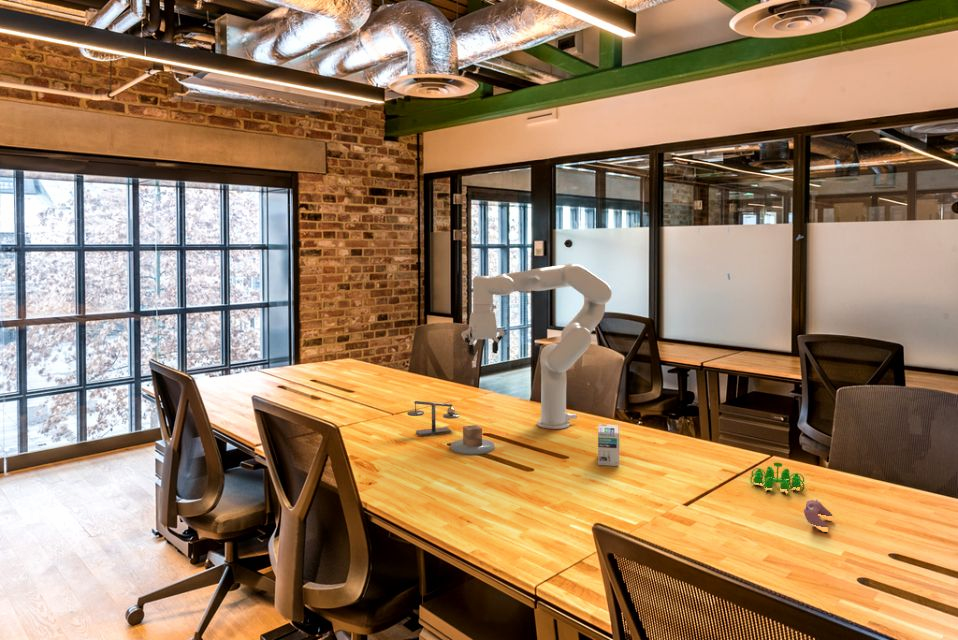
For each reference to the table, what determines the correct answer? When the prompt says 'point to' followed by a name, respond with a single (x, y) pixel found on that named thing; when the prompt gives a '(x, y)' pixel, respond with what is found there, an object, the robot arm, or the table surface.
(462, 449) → the dish
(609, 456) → the light bulb box
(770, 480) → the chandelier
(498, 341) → the robot arm
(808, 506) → the purple rounded piece
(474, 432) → the walnut block
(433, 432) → the balance
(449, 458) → the table surface
